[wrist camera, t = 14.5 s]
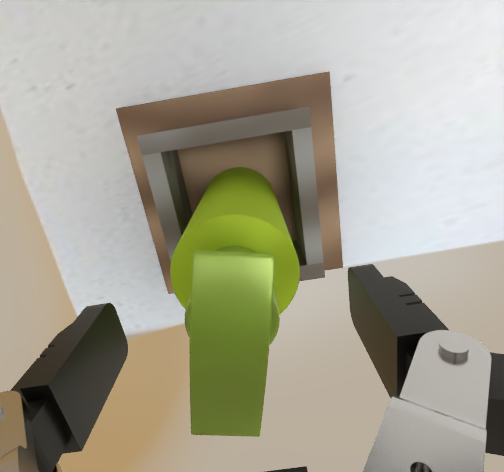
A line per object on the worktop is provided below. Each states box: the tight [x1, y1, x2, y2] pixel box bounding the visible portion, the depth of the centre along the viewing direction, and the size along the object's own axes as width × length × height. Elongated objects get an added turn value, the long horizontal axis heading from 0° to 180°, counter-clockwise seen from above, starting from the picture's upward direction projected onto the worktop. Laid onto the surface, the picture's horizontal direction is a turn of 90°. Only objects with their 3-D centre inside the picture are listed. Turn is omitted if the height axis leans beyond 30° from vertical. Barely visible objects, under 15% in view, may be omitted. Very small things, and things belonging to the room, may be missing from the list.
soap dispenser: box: [170, 167, 300, 436], centre depth 17 cm, size 6×7×20 cm
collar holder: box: [116, 72, 343, 294], centre depth 25 cm, size 16×16×6 cm
